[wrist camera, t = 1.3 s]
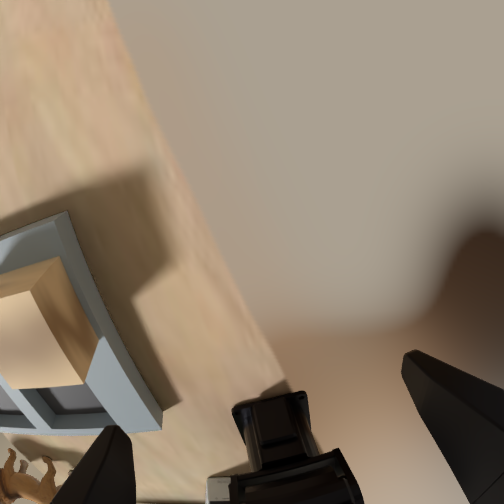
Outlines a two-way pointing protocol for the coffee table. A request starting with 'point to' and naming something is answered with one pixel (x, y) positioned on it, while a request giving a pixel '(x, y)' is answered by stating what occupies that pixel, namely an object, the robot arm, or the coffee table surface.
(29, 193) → the coffee table surface
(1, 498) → the lion figurine
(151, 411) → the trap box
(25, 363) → the block
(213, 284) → the coffee table surface
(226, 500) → the tea box
